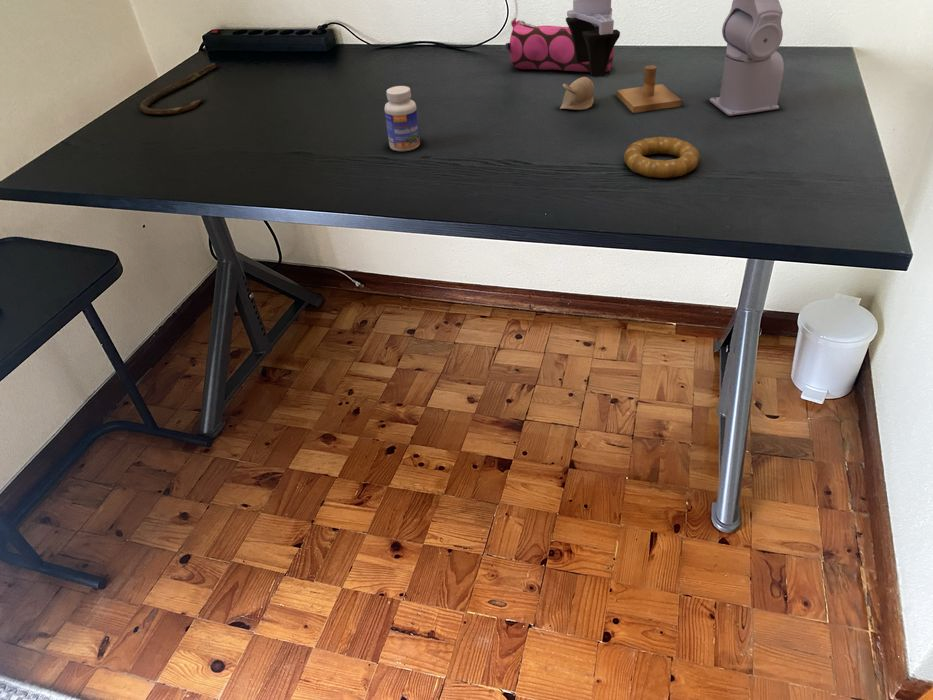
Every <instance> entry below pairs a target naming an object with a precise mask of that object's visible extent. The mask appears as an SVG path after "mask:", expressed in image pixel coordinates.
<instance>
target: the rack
mask: <svg viewBox="0 0 933 700" xmlns="http://www.w3.org/2000/svg"><path fill="white" fill-rule="evenodd" d="M643 76H644V77H643V86H637V87H630V88H622V89H621V88H620V89H616V94H615V97H617V99H618V100H619V101H620V102H621V103H622V104H623V105H625V107H626V108H627V109H628V110H629V111H630V112H631V113H633V114H637V113H644V112H650V111H651V112H652V111H658V110H665V109H671V108H679V107H682V99H681V98H680V97H678V95H676V93H673V92H672V90H670V89H669V88H668V87H666V86H665V85H664V84H663V83H659V84H656V77H657V66H656V65H646V66H644V75H643Z"/></svg>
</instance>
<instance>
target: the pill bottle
mask: <svg viewBox="0 0 933 700" xmlns="http://www.w3.org/2000/svg"><path fill="white" fill-rule="evenodd" d="M385 93H386V99H387V102H386V103H385V105H384V109H383V110H384V116H385V117H384V118H385V124H386V132H387V138H388V146H389V148H390V149H391V150H392V151H395V152H409V151H413V150H416V149H417V148H418V147H420V145H421V138H420V137H421V136H420V128H419V119H418V117H419V116H418V109H417V103H416V102H415V101H414V100H413V99H411V98H412V93H411V88H410V87H409V86H407V85H395V86H392V87H389V88H388V89H387V90H386V92H385Z"/></svg>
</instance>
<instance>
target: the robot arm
mask: <svg viewBox="0 0 933 700" xmlns="http://www.w3.org/2000/svg"><path fill="white" fill-rule="evenodd" d="M783 13H784V12H783V9H782V5H781V3H780V0H732V2H731V8H730V10H729V13H728V14H727V16H726V18H725V19H724V22H723V24H722V27H721V34H722V35H721V36H722V38H723V40H724V42H726V50H725V57H724V64H723V71H722V78H721V84H720V93H719V96H716V97H710V98H709V102H710V103H711V104H713V105H714V106H715V108H717V109H719V110H720V111H721V112H722V113H724V114H726V116H728V117H731V116H740V115H746V114H754V113H760V112H761V113H762V112H769V111H775V110H779V109H780V106H779V105H778V103H779V97H780V91H781V87H782V83H783V78H784V71H785V70H784V69H785V64H784V63H785V62H784V59H783V57H782V55H781V54H780V52H778V51H777V50H778V49H779V48H780V46H781V44H782V41H783V35H784V33H783V32H784V31H783V26H782V17H783ZM566 16H567V17H565V22H566V24H567V27H569V29H570V32H571V35H572V39H573V43H574V49H575V55H576V59H577V62H578V63H581V62H589V68H590V72H589V73H590V76H591V77H592V78H597V77H604V76H605V75H606V68H607V65H608V61H609V57H610V54H611V52H612V49H613V47H614V48H615V46H616V43H617V41H618V40H619V39H620V37H621V31H619V30H618V29H614V27H615V26H614V24H615V20H614V19H613V8H612V0H572V9H570V10H567V11H566Z"/></svg>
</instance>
